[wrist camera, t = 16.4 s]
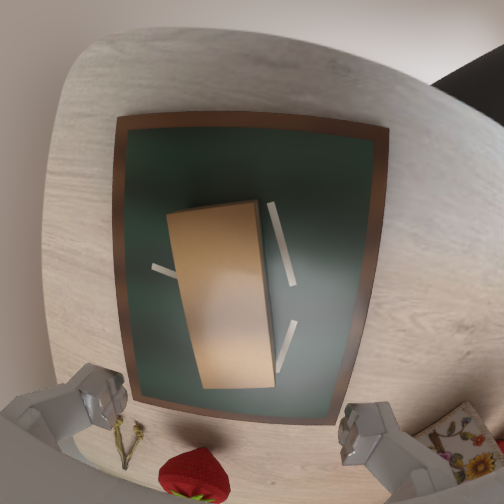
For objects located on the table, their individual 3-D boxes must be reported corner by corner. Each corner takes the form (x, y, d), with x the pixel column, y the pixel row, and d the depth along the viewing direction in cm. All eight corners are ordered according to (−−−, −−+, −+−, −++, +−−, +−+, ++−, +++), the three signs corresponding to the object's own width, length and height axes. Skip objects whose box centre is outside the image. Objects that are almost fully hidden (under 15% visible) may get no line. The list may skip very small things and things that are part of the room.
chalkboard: (123, 119, 20) (115, 116, 19) (384, 130, 18) (390, 127, 17) (137, 394, 26) (132, 401, 25) (333, 418, 25) (335, 426, 23)
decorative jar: (476, 435, 25) (521, 520, 7) (408, 478, 27) (434, 572, 10) (467, 395, 23) (534, 503, 6) (383, 449, 26) (414, 573, 8)
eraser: (186, 208, 20) (165, 214, 16) (258, 198, 19) (253, 202, 15) (214, 358, 22) (203, 388, 19) (276, 355, 22) (275, 387, 18)
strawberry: (177, 422, 26) (147, 494, 17) (244, 444, 26) (232, 519, 17) (169, 449, 28) (143, 512, 18) (228, 468, 28) (215, 534, 18)
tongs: (119, 463, 30) (114, 472, 28) (115, 409, 28) (108, 419, 26) (145, 474, 30) (141, 483, 28) (148, 422, 28) (142, 433, 26)
